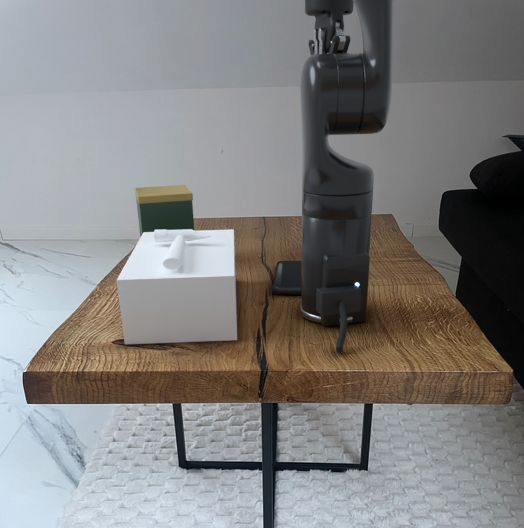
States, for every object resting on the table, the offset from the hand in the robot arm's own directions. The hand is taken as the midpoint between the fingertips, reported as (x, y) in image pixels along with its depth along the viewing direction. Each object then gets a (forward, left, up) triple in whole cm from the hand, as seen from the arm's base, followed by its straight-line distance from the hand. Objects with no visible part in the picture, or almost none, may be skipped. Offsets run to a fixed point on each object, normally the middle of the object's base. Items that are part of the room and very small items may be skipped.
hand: (327, 101), depth 99 cm
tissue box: (-17, +28, -27) cm, 43 cm away
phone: (-10, +8, -27) cm, 30 cm away
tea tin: (+8, +27, -27) cm, 39 cm away
